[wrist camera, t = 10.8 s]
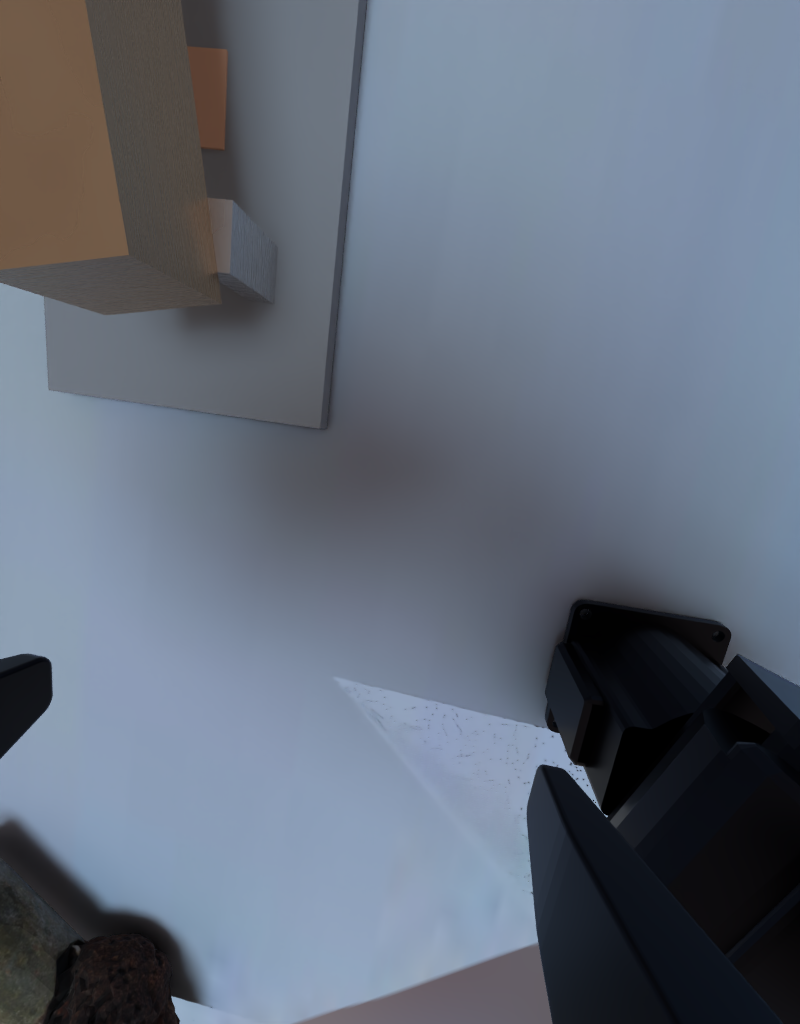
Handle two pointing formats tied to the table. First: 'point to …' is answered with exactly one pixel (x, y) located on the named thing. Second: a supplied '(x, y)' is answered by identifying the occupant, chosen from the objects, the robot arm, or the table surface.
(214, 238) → the set of grey blocks
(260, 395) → the plate
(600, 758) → the robot arm
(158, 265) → the tan wooden bar
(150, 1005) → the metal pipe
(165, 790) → the table surface
